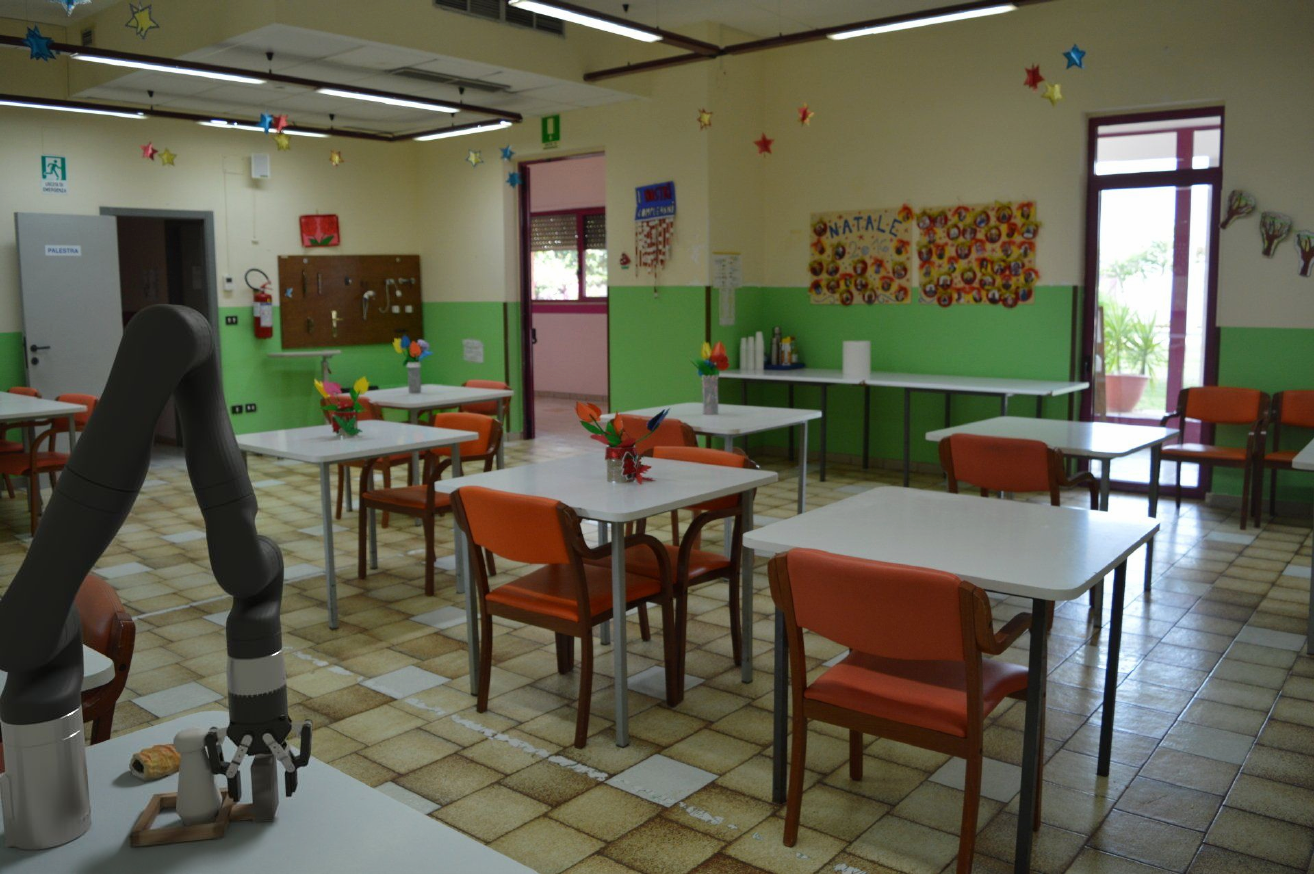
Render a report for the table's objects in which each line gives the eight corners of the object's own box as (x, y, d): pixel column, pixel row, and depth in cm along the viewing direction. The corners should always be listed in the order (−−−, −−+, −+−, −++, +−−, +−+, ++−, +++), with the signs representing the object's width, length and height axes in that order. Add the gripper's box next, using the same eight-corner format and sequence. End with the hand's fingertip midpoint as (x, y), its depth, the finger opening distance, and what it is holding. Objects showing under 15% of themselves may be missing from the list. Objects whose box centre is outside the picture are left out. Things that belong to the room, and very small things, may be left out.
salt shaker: (205, 833, 135) (193, 742, 133) (168, 829, 136) (156, 740, 134) (233, 810, 140) (221, 723, 138) (197, 807, 142) (186, 720, 140)
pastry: (185, 751, 160) (183, 728, 159) (208, 763, 156) (206, 740, 155) (125, 773, 152) (123, 750, 152) (147, 786, 148) (146, 762, 148)
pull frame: (130, 846, 131) (125, 789, 130) (154, 804, 142) (150, 750, 141) (269, 832, 134) (265, 776, 133) (282, 791, 146) (279, 739, 144)
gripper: (194, 697, 132) (202, 816, 134) (308, 688, 135) (314, 804, 137) (207, 676, 139) (214, 789, 142) (315, 668, 142) (321, 779, 144)
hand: (264, 796), depth 139 cm, fingers open, 6 cm apart
